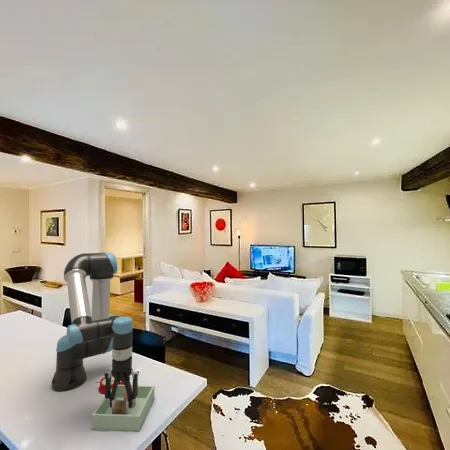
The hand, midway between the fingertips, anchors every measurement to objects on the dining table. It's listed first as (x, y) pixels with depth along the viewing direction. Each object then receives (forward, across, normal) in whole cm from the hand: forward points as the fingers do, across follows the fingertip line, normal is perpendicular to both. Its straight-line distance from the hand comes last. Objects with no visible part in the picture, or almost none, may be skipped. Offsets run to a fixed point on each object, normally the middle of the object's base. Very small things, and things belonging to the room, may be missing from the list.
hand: (121, 415), depth 105 cm
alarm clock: (+3, -13, +20) cm, 25 cm away
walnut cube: (0, 0, 0) cm, 1 cm away
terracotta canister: (+2, 0, +8) cm, 9 cm away
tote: (+2, 0, +5) cm, 5 cm away
